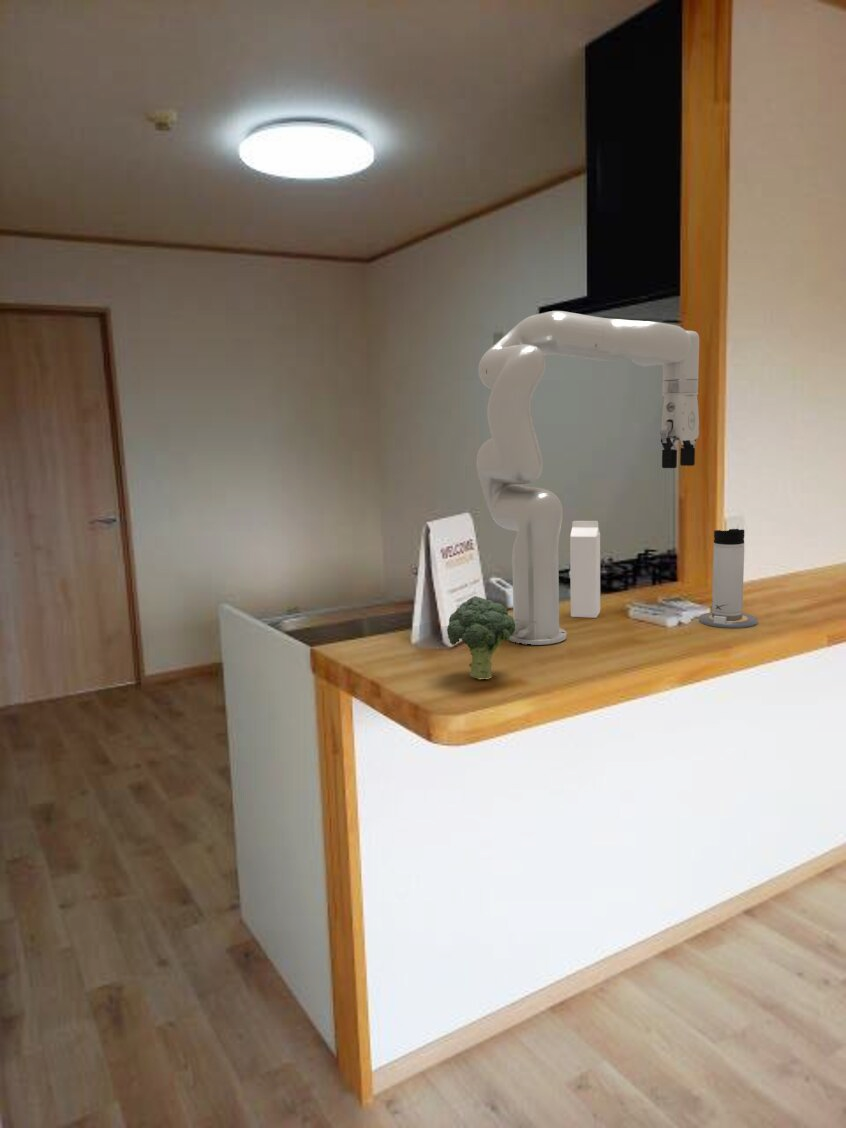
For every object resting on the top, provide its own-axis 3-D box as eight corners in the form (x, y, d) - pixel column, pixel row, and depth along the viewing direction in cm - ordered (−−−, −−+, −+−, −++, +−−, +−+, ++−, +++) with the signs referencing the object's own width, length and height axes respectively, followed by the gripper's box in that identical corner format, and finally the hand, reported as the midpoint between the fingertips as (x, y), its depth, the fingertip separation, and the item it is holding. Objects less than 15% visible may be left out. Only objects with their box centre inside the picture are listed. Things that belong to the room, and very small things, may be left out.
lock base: (747, 630, 176) (747, 620, 176) (691, 624, 184) (691, 614, 183) (764, 619, 185) (765, 609, 185) (710, 612, 193) (710, 603, 192)
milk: (596, 618, 192) (596, 522, 188) (570, 617, 194) (569, 522, 190) (600, 612, 198) (600, 519, 194) (574, 610, 200) (574, 518, 196)
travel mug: (718, 622, 181) (720, 530, 177) (707, 614, 187) (709, 526, 184) (747, 621, 181) (750, 528, 177) (736, 613, 187) (738, 524, 184)
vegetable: (513, 667, 157) (512, 588, 154) (518, 689, 144) (517, 603, 142) (448, 669, 157) (446, 590, 155) (448, 690, 145) (445, 606, 142)
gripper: (680, 387, 177) (678, 469, 180) (711, 388, 190) (709, 464, 193) (647, 389, 181) (645, 468, 184) (680, 390, 194) (678, 464, 197)
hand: (678, 466), depth 188 cm, fingers open, 9 cm apart
